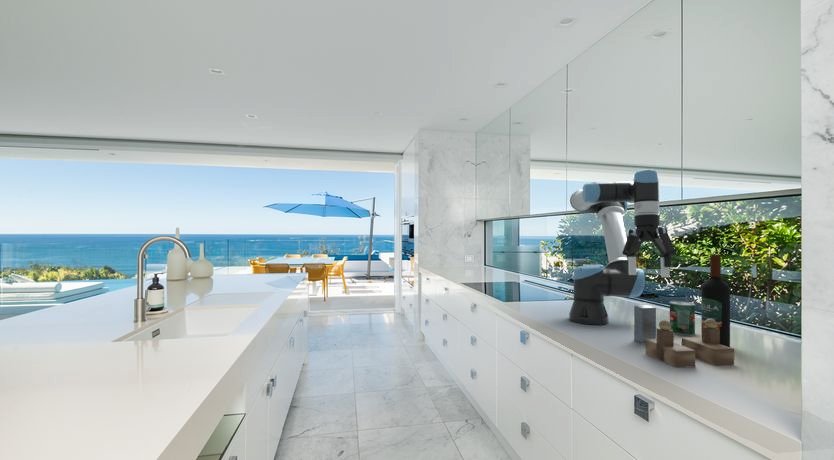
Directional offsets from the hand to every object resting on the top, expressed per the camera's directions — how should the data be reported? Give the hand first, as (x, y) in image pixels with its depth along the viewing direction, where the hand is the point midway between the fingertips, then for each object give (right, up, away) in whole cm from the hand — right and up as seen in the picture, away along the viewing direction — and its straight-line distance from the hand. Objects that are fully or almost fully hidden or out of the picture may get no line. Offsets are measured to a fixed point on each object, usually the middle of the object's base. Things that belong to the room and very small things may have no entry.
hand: (648, 276), depth 133 cm
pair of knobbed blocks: (+1, -22, -19) cm, 29 cm away
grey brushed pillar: (-2, -22, -1) cm, 22 cm away
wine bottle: (+19, -23, -5) cm, 30 cm away
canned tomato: (+19, -23, +11) cm, 31 cm away
